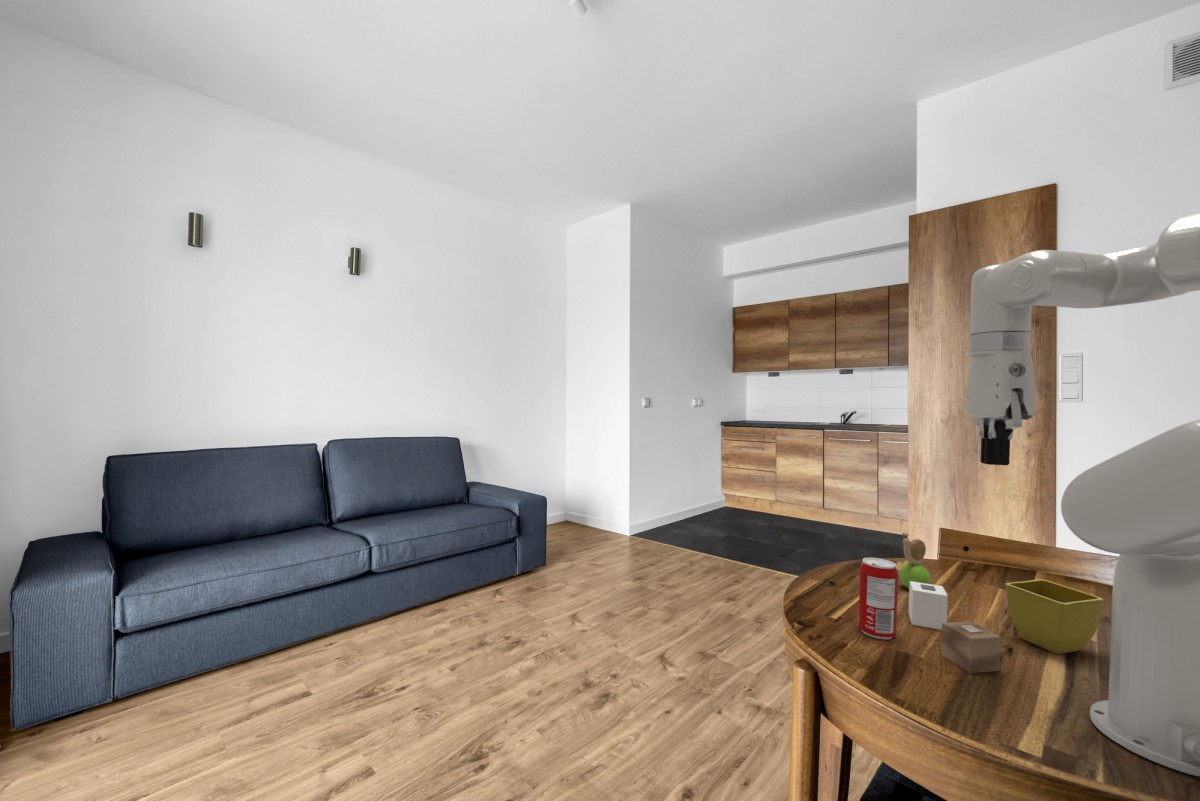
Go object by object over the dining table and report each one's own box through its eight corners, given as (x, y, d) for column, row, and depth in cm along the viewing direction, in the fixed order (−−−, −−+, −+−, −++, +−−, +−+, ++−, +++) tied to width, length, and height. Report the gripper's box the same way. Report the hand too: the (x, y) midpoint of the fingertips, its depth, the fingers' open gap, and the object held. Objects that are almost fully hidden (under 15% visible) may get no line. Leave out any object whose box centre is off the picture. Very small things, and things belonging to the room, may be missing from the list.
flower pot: (1062, 663, 76) (1064, 603, 76) (1001, 636, 84) (1003, 582, 84) (1103, 656, 78) (1105, 598, 78) (1040, 631, 87) (1042, 578, 87)
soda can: (876, 623, 88) (878, 554, 88) (903, 638, 83) (906, 564, 83) (850, 627, 86) (852, 556, 86) (877, 642, 81) (879, 567, 81)
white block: (946, 631, 86) (947, 594, 86) (911, 624, 88) (913, 589, 88) (941, 619, 90) (942, 585, 90) (908, 613, 93) (909, 579, 92)
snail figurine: (889, 587, 105) (891, 529, 105) (910, 583, 108) (912, 527, 108) (915, 597, 100) (917, 536, 100) (936, 592, 103) (938, 533, 103)
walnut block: (999, 671, 73) (1001, 635, 73) (970, 673, 73) (971, 637, 72) (969, 653, 78) (970, 620, 78) (940, 655, 77) (942, 621, 77)
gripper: (1060, 341, 71) (1055, 472, 71) (997, 351, 86) (993, 459, 86) (1000, 340, 72) (995, 469, 72) (948, 350, 87) (944, 457, 87)
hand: (994, 464), depth 79 cm, fingers closed
